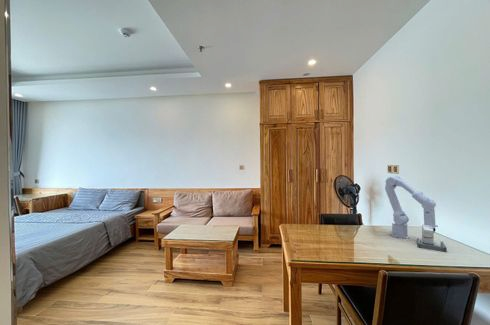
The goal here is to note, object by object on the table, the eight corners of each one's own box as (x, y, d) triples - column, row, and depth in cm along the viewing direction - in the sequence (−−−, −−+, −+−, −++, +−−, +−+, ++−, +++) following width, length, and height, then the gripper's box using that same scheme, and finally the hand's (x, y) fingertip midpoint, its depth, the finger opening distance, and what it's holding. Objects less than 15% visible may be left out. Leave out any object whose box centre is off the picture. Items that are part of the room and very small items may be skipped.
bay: (418, 247, 137) (418, 243, 137) (416, 241, 147) (416, 237, 147) (446, 252, 129) (446, 248, 129) (443, 245, 139) (442, 241, 139)
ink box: (434, 248, 135) (434, 230, 134) (423, 246, 138) (423, 229, 136) (431, 241, 142) (431, 225, 141) (421, 240, 145) (421, 224, 143)
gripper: (439, 221, 135) (440, 243, 134) (435, 216, 146) (436, 236, 146) (424, 220, 139) (425, 241, 138) (422, 215, 150) (423, 234, 150)
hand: (430, 238), depth 143 cm, fingers closed, pressing on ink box
